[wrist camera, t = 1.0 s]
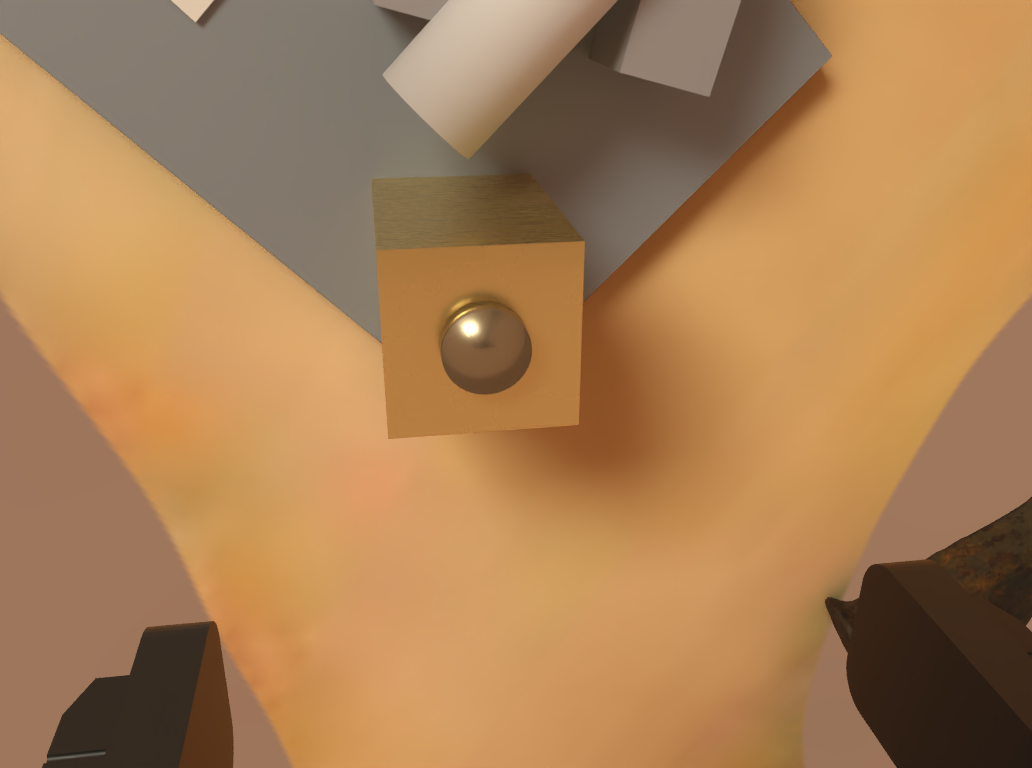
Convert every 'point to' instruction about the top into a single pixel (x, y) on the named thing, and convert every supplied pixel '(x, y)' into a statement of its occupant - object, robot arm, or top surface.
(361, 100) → the shaft base
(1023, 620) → the hand tool
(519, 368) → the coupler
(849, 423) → the top surface
